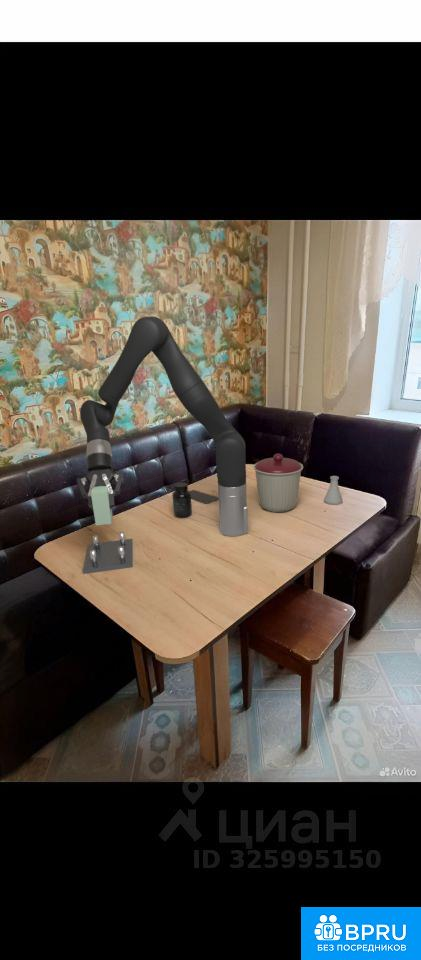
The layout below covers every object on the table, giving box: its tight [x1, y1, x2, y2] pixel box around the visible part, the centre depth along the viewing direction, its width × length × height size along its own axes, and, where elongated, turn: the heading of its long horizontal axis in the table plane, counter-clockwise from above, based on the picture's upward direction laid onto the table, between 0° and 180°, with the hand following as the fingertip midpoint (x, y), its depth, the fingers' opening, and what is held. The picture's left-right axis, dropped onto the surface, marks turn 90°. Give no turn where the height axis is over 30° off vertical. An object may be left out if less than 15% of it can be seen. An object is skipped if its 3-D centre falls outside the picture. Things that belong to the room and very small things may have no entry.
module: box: [91, 486, 114, 526], centre depth 119 cm, size 4×6×10 cm
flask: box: [323, 475, 343, 505], centre depth 156 cm, size 7×7×10 cm
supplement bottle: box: [172, 482, 193, 519], centre depth 150 cm, size 7×7×12 cm
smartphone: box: [189, 489, 219, 505], centre depth 168 cm, size 7×1×16 cm
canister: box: [252, 453, 304, 513], centre depth 151 cm, size 18×18×21 cm
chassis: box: [82, 531, 134, 575], centre depth 124 cm, size 14×16×5 cm
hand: (102, 508), depth 118 cm, fingers closed on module, 4 cm apart
